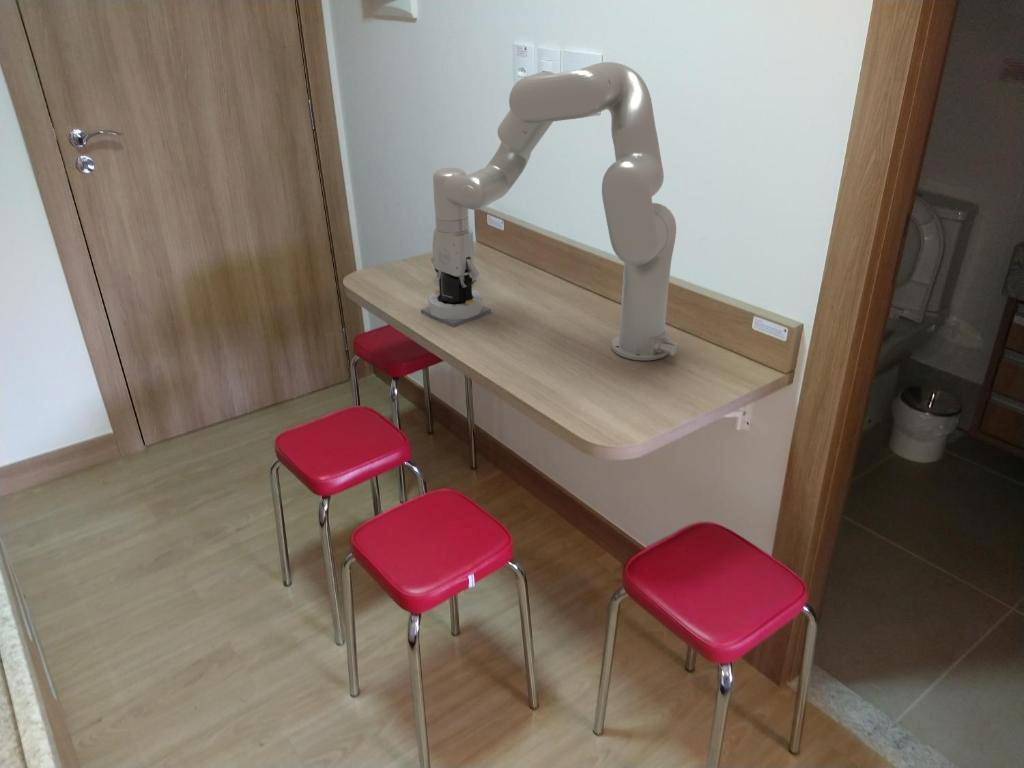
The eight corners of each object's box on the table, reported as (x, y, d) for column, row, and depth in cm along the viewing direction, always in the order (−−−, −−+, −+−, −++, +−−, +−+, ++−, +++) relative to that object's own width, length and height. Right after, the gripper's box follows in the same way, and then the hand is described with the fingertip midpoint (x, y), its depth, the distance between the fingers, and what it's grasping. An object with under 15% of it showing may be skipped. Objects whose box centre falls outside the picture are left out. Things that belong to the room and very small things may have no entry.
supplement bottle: (441, 314, 188) (438, 266, 182) (443, 303, 194) (440, 256, 188) (470, 314, 188) (468, 266, 182) (471, 303, 194) (469, 256, 188)
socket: (492, 312, 191) (492, 294, 189) (453, 328, 184) (452, 309, 181) (458, 299, 199) (457, 281, 197) (419, 313, 192) (418, 295, 189)
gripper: (415, 220, 184) (420, 292, 193) (465, 236, 173) (468, 311, 182) (440, 213, 189) (444, 284, 197) (490, 228, 178) (492, 302, 186)
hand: (455, 296), depth 189 cm, fingers closed on supplement bottle, 6 cm apart
